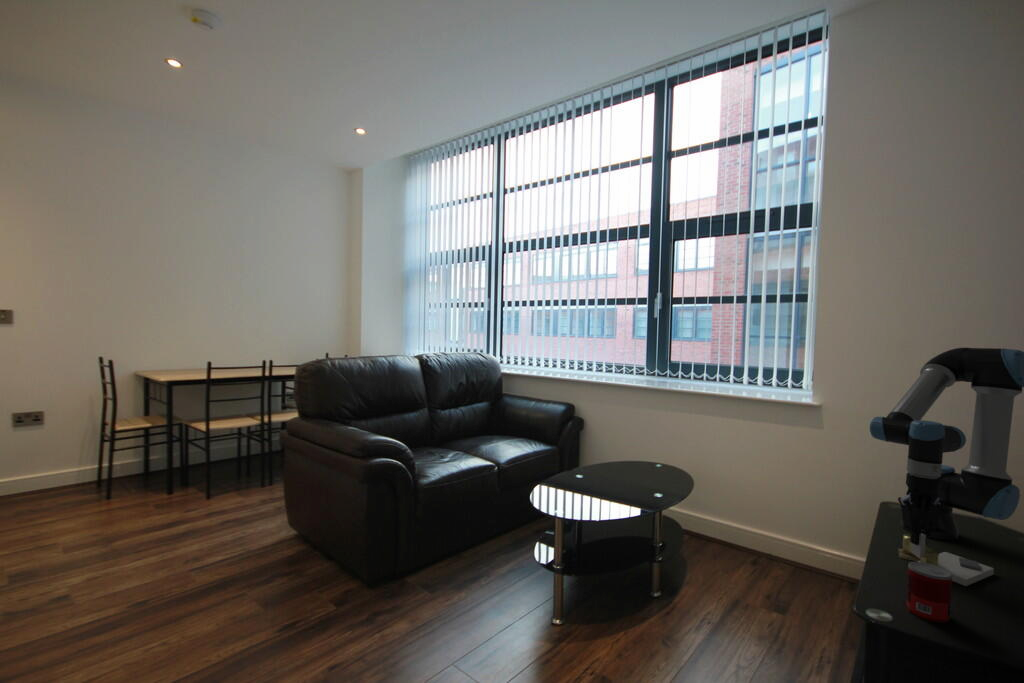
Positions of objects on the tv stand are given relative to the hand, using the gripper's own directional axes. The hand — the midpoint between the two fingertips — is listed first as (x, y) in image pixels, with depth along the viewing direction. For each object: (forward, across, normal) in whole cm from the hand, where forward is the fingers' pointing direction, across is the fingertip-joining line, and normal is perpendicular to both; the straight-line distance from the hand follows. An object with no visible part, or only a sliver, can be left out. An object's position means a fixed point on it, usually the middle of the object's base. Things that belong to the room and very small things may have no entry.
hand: (917, 555), depth 138 cm
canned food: (+4, -19, -21) cm, 29 cm away
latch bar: (+3, +3, +3) cm, 5 cm away
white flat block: (+4, +10, -2) cm, 11 cm away
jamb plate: (+4, +5, +7) cm, 9 cm away
